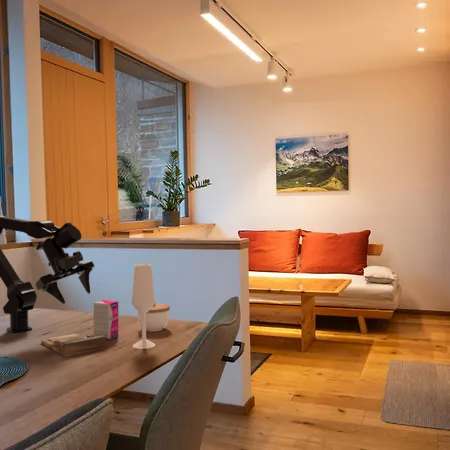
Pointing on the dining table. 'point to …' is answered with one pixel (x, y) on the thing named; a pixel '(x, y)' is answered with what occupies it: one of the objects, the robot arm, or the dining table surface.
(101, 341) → the click board
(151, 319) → the lidded jar
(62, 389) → the dining table surface
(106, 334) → the supplement box
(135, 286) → the champagne flute
